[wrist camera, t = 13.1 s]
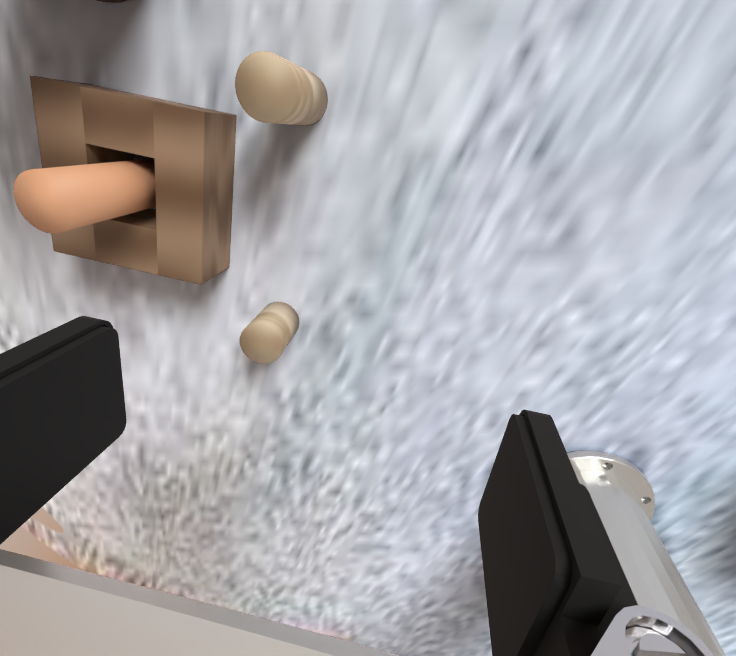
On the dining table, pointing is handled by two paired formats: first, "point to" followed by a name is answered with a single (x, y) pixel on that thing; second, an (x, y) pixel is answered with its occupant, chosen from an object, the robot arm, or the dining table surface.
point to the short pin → (269, 332)
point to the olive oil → (112, 1)
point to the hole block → (172, 176)
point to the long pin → (84, 193)
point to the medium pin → (279, 90)
